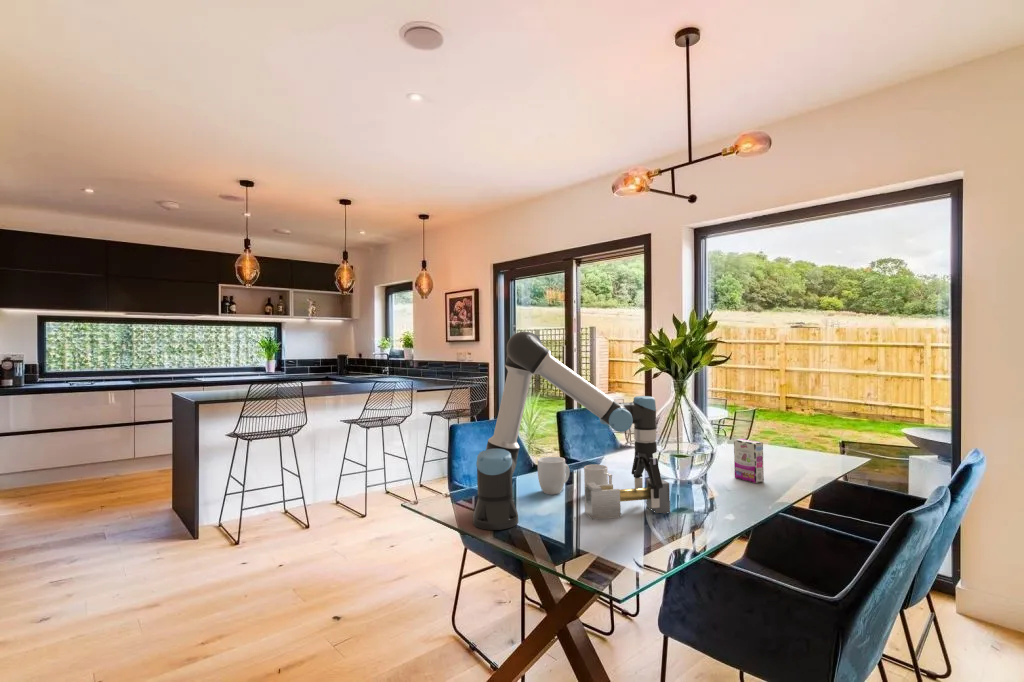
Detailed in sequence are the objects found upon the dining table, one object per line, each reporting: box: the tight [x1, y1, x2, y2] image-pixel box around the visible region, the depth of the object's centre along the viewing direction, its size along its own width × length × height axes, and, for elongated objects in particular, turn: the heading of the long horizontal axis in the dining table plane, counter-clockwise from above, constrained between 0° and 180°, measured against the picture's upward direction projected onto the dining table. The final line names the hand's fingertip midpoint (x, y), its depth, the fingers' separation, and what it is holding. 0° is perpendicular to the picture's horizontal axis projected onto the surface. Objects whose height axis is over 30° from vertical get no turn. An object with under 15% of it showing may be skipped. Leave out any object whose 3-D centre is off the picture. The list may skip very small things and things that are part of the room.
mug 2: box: [583, 464, 613, 487], centre depth 205 cm, size 12×9×11 cm
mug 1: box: [537, 456, 571, 496], centre depth 214 cm, size 15×11×13 cm
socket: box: [645, 477, 671, 514], centre depth 188 cm, size 5×8×10 cm, turn 10°
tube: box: [620, 486, 651, 503], centre depth 187 cm, size 22×4×4 cm, turn 100°
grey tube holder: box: [584, 482, 622, 520], centre depth 185 cm, size 10×8×10 cm
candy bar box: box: [733, 438, 765, 484], centre depth 225 cm, size 11×5×16 cm, turn 25°
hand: (646, 501), depth 188 cm, fingers open, 13 cm apart
